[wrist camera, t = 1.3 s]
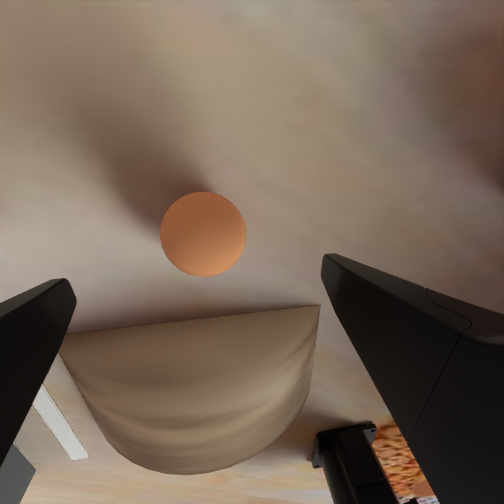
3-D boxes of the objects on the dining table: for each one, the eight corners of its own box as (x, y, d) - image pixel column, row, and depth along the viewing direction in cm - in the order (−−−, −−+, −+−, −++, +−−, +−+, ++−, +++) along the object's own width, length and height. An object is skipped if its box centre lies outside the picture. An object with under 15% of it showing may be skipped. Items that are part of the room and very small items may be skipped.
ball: (242, 249, 15) (252, 289, 12) (173, 255, 15) (162, 298, 11) (239, 181, 13) (250, 203, 10) (160, 185, 13) (141, 210, 9)
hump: (282, 280, 38) (356, 445, 19) (130, 296, 36) (37, 504, 17) (285, 218, 34) (386, 352, 14) (110, 230, 31) (-53, 415, 12)
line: (88, 455, 22) (87, 457, 22) (73, 457, 22) (72, 460, 22) (-19, 287, 14) (-22, 290, 14) (-44, 290, 14) (-47, 292, 14)
